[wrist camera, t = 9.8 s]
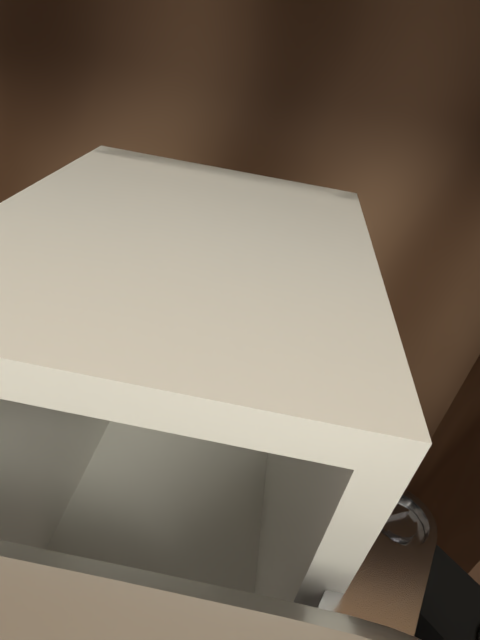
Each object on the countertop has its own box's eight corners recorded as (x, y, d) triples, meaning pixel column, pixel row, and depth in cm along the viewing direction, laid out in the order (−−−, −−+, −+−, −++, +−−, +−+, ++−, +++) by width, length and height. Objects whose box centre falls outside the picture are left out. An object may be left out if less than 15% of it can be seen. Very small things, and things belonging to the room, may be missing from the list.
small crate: (356, 193, 11) (433, 443, 4) (283, 436, 16) (267, 724, 9) (101, 145, 11) (-202, 318, 5) (108, 401, 16) (-31, 661, 10)
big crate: (718, -26, 10) (1144, -85, 5) (402, 504, 21) (432, 652, 16) (-153, -176, 10) (-586, -369, 5) (-9, 421, 21) (-105, 541, 16)
